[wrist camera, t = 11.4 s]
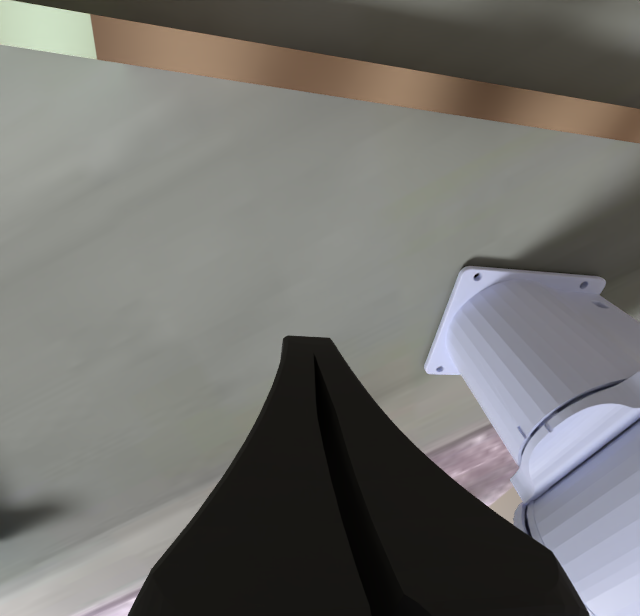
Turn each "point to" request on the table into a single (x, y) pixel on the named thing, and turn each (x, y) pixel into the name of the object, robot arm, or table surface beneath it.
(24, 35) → the lane
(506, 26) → the table surface
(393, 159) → the table surface
